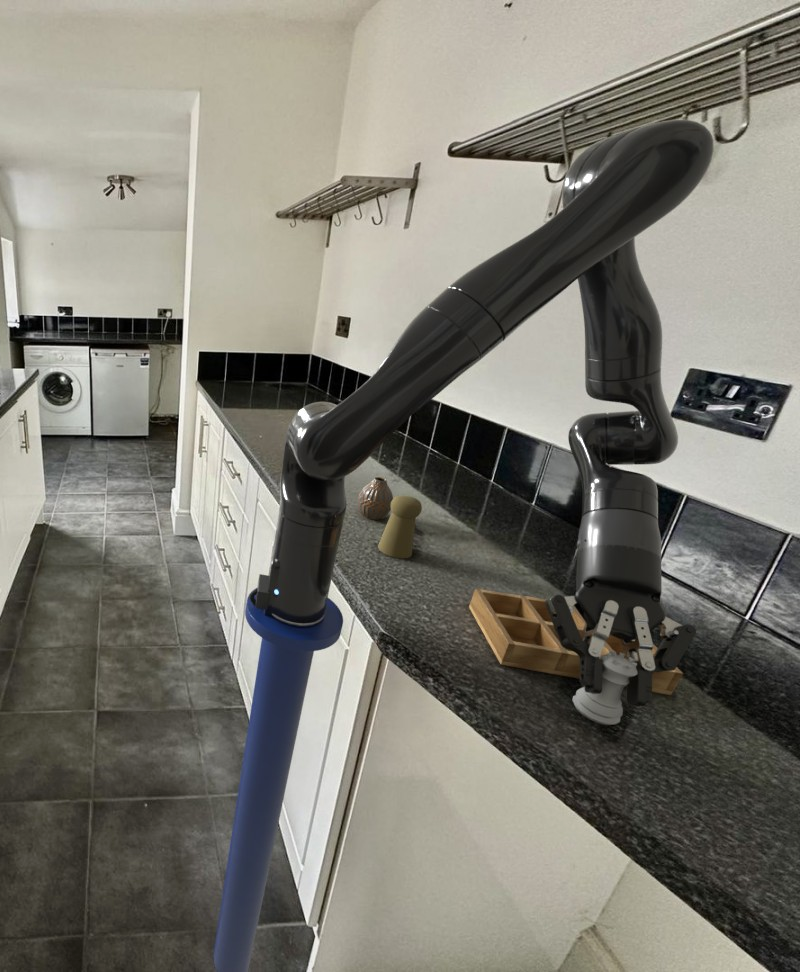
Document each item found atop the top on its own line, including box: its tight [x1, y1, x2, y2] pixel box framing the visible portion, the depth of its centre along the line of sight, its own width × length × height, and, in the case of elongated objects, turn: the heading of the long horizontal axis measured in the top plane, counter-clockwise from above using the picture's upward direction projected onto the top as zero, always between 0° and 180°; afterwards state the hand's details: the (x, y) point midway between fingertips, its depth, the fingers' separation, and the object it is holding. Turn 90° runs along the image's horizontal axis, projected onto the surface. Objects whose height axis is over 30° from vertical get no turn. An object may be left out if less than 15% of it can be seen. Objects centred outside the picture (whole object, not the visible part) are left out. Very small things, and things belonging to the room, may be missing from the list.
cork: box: [377, 494, 423, 559], centre depth 95 cm, size 6×6×11 cm
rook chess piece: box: [572, 651, 638, 726], centre depth 58 cm, size 4×4×8 cm
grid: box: [468, 588, 684, 696], centre depth 72 cm, size 20×13×4 cm
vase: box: [357, 476, 394, 521], centre depth 109 cm, size 7×7×9 cm
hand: (614, 698), depth 56 cm, fingers closed on rook chess piece, 3 cm apart
